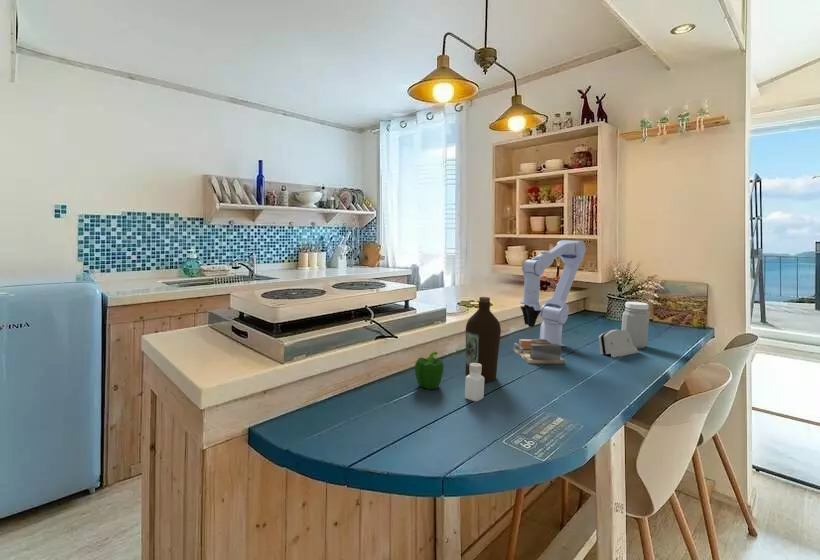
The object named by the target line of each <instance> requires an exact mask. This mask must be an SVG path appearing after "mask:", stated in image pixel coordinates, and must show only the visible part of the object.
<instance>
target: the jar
mask: <svg viewBox="0 0 820 560" xmlns="http://www.w3.org/2000/svg"><path fill="white" fill-rule="evenodd" d="M649 307H650V305H649V303H646V302H640V301H626V302H625V308H624V311H623V312H622V316H621V317H622V320H621V329H620V330H625V331H628V332H629V333H630V336H631V339H632V342H633V345H634V346H635V347H636V348H637V350H639V349H641V350H642V349H644V348H646V347H647V345H648V336H649V335H648V333H649V326H650V324H649V323H650V315H649V314H648V313H649V311H648V309H649Z"/></svg>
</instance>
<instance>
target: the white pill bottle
mask: <svg viewBox="0 0 820 560" xmlns="http://www.w3.org/2000/svg"><path fill="white" fill-rule="evenodd" d="M469 368H470V369H469V371H470V374H469V375H467V376H466V375H465V380H464V381H465V383H464V398H465V399H467V400H470V401H472V402H479V401H480V400H483V398H484V395H485V382H484V379H485V378H484V377H483V376H481V371H482V370H481V369H482V365H481V364H479V363H470V367H469Z"/></svg>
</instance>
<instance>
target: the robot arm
mask: <svg viewBox="0 0 820 560" xmlns="http://www.w3.org/2000/svg"><path fill="white" fill-rule="evenodd" d="M586 252H587V248H586V244H585V242H584V241H583V240H568V239H567V240H566V239H561V240H559V241H557V243H556V245H555V246H554V247H552V248H551V249H550V250H549V251H546V250H542V251H540V253H539V254H538V255H536V256H534V257H533V258H532V259H526V260H525V261H524V262H523V264H522V266H521V270H522V273H523V275H522V276H523V278H524V282H523V283H524V285H523V286H524V287H523V298H522V299H521V301H520V305H521V306H520V307H519V308H520V309H521V312H522V315H523V323H524V325H526V326H528V327H529V328H534V327H535V325H536V322H537V320H538V317H539V316H540V318H541V320H542V323H541V324H540V329H539V330H540V331H539V339H545V340H547V341H549V342H550V343H551V344H559V345H560V346H561V347H566V344H564V343H563V342H562V335H563V324H565V323H566V322H567V320H568V317H569V310H570V307H569V306H568V304H567V303H566V300H567V298H568V296H569V292H570V291H571V288H572V285H573V282H574V279H575V278H576V275H577V273H578V270H579V267H580V264H581V263H582V262H583V259H584V256H585V254H586ZM558 257H560V259H561V261H562V262H563V263H564V267H563V269H562V271H561V275H560V277H559V279H558V282H557V284H556V288H555V290H554V292H553V294H552V297H551V298H549V299H547V300H545V301H544V304H543V305H542V306H541V304H540V287H541V275H543V274H544V272H545V271H546V269H547V268H548V267H550V266H551V265H552V264H553V263H554V262H555V261H554V260H555V259H557V258H558Z"/></svg>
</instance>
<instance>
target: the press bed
mask: <svg viewBox="0 0 820 560" xmlns="http://www.w3.org/2000/svg"><path fill="white" fill-rule="evenodd" d="M512 351H513V352H514V353H516V354H517V355H518V356H519V357H520V356H521V357H520V358H522V359H523V360H524V361H525V362H526V363H527V364H565V362H566V361H565V359H564V358H562V357H561V355H562V353H561V352H562V346H560V345H559V344H531V349H523V348H522V347H521V346H520V345H519V343H517V342H514V343H513V350H512Z"/></svg>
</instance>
